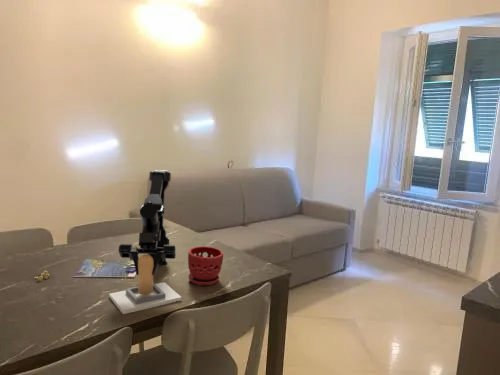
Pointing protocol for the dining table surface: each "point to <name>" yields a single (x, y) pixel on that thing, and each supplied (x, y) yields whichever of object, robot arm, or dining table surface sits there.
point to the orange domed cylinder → (145, 274)
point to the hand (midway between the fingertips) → (145, 274)
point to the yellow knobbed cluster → (43, 276)
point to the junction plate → (144, 298)
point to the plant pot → (204, 265)
